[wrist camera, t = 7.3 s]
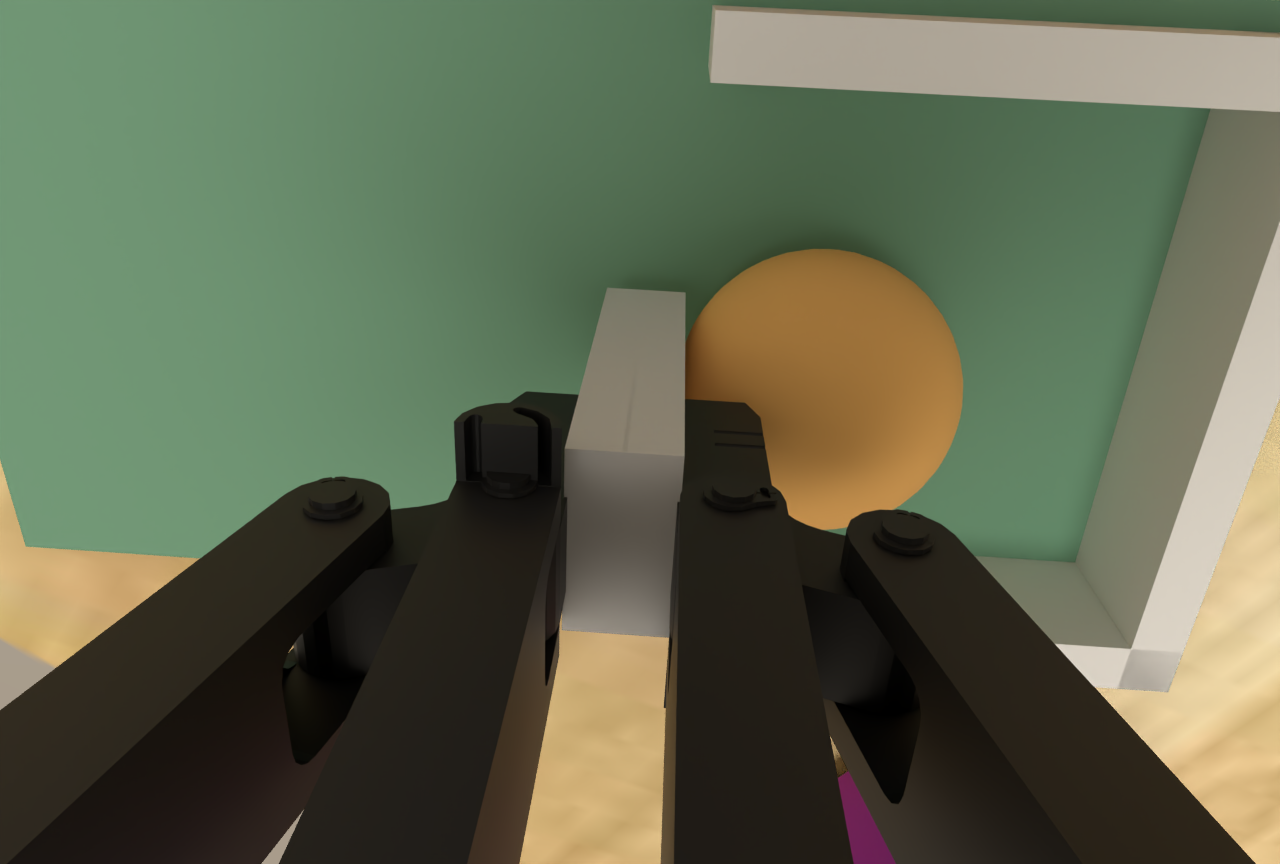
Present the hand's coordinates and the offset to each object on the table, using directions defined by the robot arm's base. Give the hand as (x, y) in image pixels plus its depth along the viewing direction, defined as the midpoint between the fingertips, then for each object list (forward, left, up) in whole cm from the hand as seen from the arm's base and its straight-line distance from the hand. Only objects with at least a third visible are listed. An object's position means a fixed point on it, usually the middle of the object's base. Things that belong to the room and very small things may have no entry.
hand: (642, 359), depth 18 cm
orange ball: (-3, 0, +1) cm, 3 cm away
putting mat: (+2, 0, -2) cm, 3 cm away
